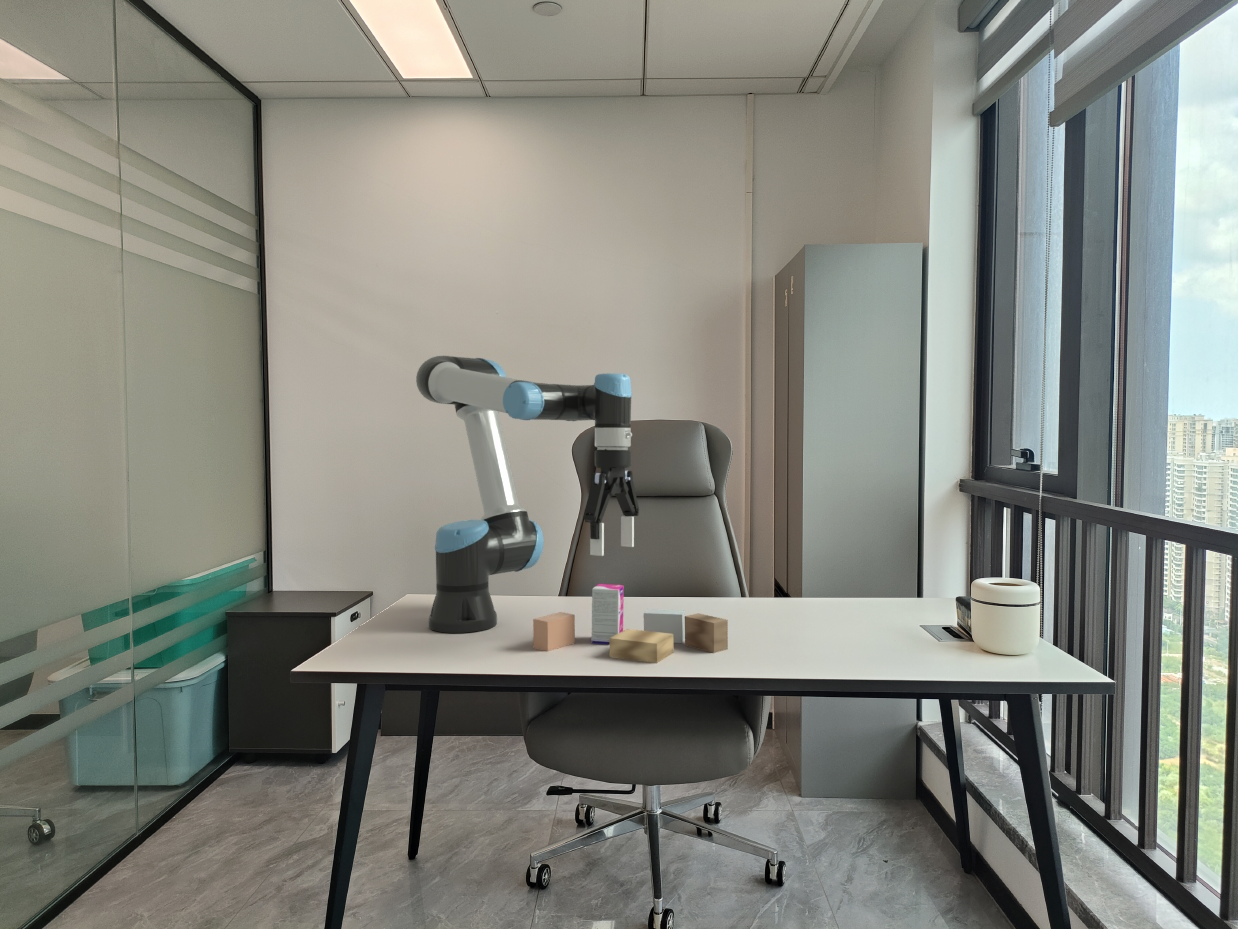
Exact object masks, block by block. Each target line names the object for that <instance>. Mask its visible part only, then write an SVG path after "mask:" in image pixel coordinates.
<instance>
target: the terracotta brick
mask: <svg viewBox="0 0 1238 929" xmlns="http://www.w3.org/2000/svg"><path fill="white" fill-rule="evenodd" d="M575 617H576V616H575V614H574V613H568V612H563V611H559V612H556V613H552V614H547V615H543V616H540V617H536V618H533V620H532V622H533V625H532V626H533V630H532V632H533V633H532V634H533V637H532V639H533V640H532V641H533V649H536V650H540V651H543V652H551V651H554V650H558V649H560V648H564V647H566V646H570V645H572V644H575V643H576V639H575V638H576V634H575V632H576V629H575V628H576V625H575V624H576V622H575V621H576V620H575Z"/></svg>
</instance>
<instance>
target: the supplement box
mask: <svg viewBox="0 0 1238 929" xmlns="http://www.w3.org/2000/svg"><path fill="white" fill-rule="evenodd" d="M591 591H592V592H591V640H590V641H591V642H590V643H591V644H592V645H593V644H594V645H609V646H610V643H609V638H611V637H613V636H615V635H616V634H618V633H620V632H622V631H624V601H625V599H624V594H625V593H624V591H625V588H624V585H622V584H605V583H598V584H597V585H595V586H594V587H593V588H592V590H591Z"/></svg>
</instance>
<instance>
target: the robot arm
mask: <svg viewBox="0 0 1238 929" xmlns="http://www.w3.org/2000/svg"><path fill="white" fill-rule="evenodd" d="M415 378H416V379H415V380H416V382H415V383H416V386H417V390H418V392H420V394H421V396H423V398H425V399H426V400H427V401H429V402H433V403H436V404H443V405H454V410H455V413H456V416H457V417H458V418H459V419H461V420H463V422H464V425H465V430H466V435H467V440H468V445H469V449H470V454H471V458H472V462H473V466H474V472H475V476H476V481H477V485H478V491H479V494H480V500H481V503H482V505H481V506H482V508H483V516H482V517H481V519H468V520H467V519H466V520H460V521H454V522H451V523H447V524H445V525H443V526H441V527H439V528H438V529H437V531H436V534H435V545H434V550H435V584H436V585H435V586H436V590H435V597H434V600H433V604H432V606H431V612H430V614H429V616H428V628H429V630H432V631H434V632H438V633H439V632H440V633H446V634H447V633H448V634H449V633H451V634H453V633H454V634H462V633H463V634H464V633H474V632H480V631H486V630H489V629H491V628H493V627H496V625H498V622H497V621H498V616H497V611H496V610H495V607H494V603H493V600H492V597H491V594H490V589H489V584H490V583H489V576H493V575H499V574H505V573H512V572H514V573H517V572H521V571H523V570H526V569H530V568H531V569H532V567H534V566H536V564H537V563H538V562H539V560H541V559H540V558H541V555H542V554H543V551H544V546H545V545H544V542H545V540H544V539H545V538H544V535H543V534H544V533H543V531H542V528H541V526H540V525H538V523H537V522H536V521H533V520H531V519H529V514H528V511H527V510H526V509H525V508H523V507H522V506H521V505H520V502H519V498H518V494H517V489H516V486H515V480H514V475H513V472H512V467H511V464H510V463H511V462H510V459H509V458H510V457H509V455H508V448H507V445H506V441H505V436H504V432H503V427H502V423H501V418H500V414H499V413H505V414H507V415H508V417H509V418H512V419H515V420H521V421H530V420H534V421H535V420H536V421H538V420H539V421H540V420H541V421H543V420H547V421H548V420H549V421H565V422H579V421H594V447H595V448H597V449H596V450H595V451H594V466H595V468H598V469H600V473H599V472H593V473H592V474H591V482H590V483H591V484H590V488H589V493H588V497H587V502H586V506H585V509H584V514H583V520H584V522H585V523H589V524H590V525H589V531H590V532H589V538H590V539H589V545H590V546H589V550H590V551H589V553H590V554H589V556H597V557H603V556H605V553H604V552H605V550H604V549H605V532H604V531H605V523H604V522H602V520H603V518H604V515H605V513H606V510H607V507H608V505H609V502H610V499H611V498H612V497H613V496H615V498H616V501H617V502H618V505H619V508H620V510H621V512H622V516H620V547H628V548H634V547H635V540H634V539H635V517H639V514H640V513H639V512H640V507H639V502H638V498H637V492H636V490H635V489H636V488H635V484H634V476H633V474H634V473H633V471H632V470H625V469H629V468H630V467H631V466H632V451H631V450H630V449H629V448H630V447H631V446H632V441H631V440H632V437H633V433H632V432H631V429H632V428H631V427H632V425H631V424H632V422H631V420H632V416H631V415H632V396H633V393H632V385H631V383H632V382H631V378H630V376H629V375H628V374H625V373H617V372H616V373H615V372H613V373H610V372H609V373H608V372H607V373H598V374H596V375H595V377H594V382H593V384H588V385H587V384H586V385H585V384H581V385H576V384H575V385H574V384H572V385H571V384H561V383H560V384H559V383H543V382H533V381H528V380H524V379H523V380H521V379H517V378H512V377H507V375H506V372H505V370H504V369H503V368H502V366H501V365H500V364H499V363H497V362H495V361H494V360H490V359H486V358H481V357H475V358H473V357H462V356H461V357H460V356H451V355H436V356H432V357H429V358H428V359H427V360H425V361H424V362H423V363H422V364H421V365H420V367H419V368H418V369H417V372H416V377H415Z"/></svg>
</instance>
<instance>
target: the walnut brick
mask: <svg viewBox="0 0 1238 929" xmlns="http://www.w3.org/2000/svg"><path fill="white" fill-rule="evenodd" d="M728 622H729V620H728V619H726V618H721V617H718V616H712V615H708V614H703V613H693V614H689V615H685V639H684V646H686V647H687V646H688V647H691V648H695V649H698V650H702V651H706V652H709V653H713V654H715V653H719V652H723V651H727V650H728V648H729V646H728V644H729V643H728V642H729V640H728V639H729V636H728V635H729V634H728V632H729V631H728V630H729V628H728V627H729V625H728Z"/></svg>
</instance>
